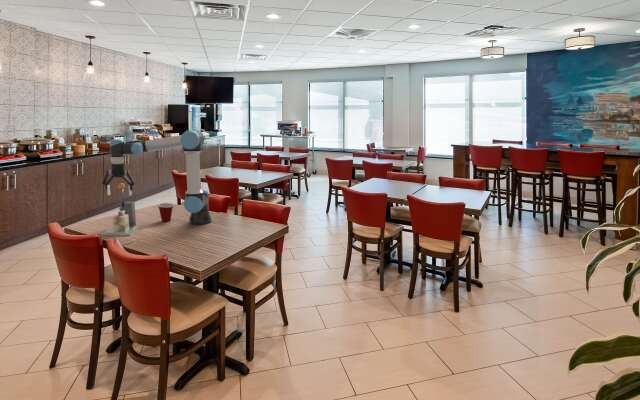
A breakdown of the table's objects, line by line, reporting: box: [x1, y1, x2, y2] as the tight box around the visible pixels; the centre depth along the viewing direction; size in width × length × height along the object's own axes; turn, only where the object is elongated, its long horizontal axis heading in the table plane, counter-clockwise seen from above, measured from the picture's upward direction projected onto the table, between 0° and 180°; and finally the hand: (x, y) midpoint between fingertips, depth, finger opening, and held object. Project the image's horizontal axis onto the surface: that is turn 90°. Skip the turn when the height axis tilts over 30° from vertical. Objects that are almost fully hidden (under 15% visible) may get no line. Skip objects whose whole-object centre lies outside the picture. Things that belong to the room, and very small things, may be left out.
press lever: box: [117, 182, 125, 212], centre depth 270 cm, size 4×4×18 cm
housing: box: [112, 210, 129, 231], centre depth 258 cm, size 7×7×12 cm
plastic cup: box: [157, 202, 175, 223], centre depth 288 cm, size 11×11×12 cm
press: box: [102, 201, 140, 237], centre depth 263 cm, size 16×26×16 cm, turn 5°
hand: (119, 195), depth 270 cm, fingers open, 13 cm apart
